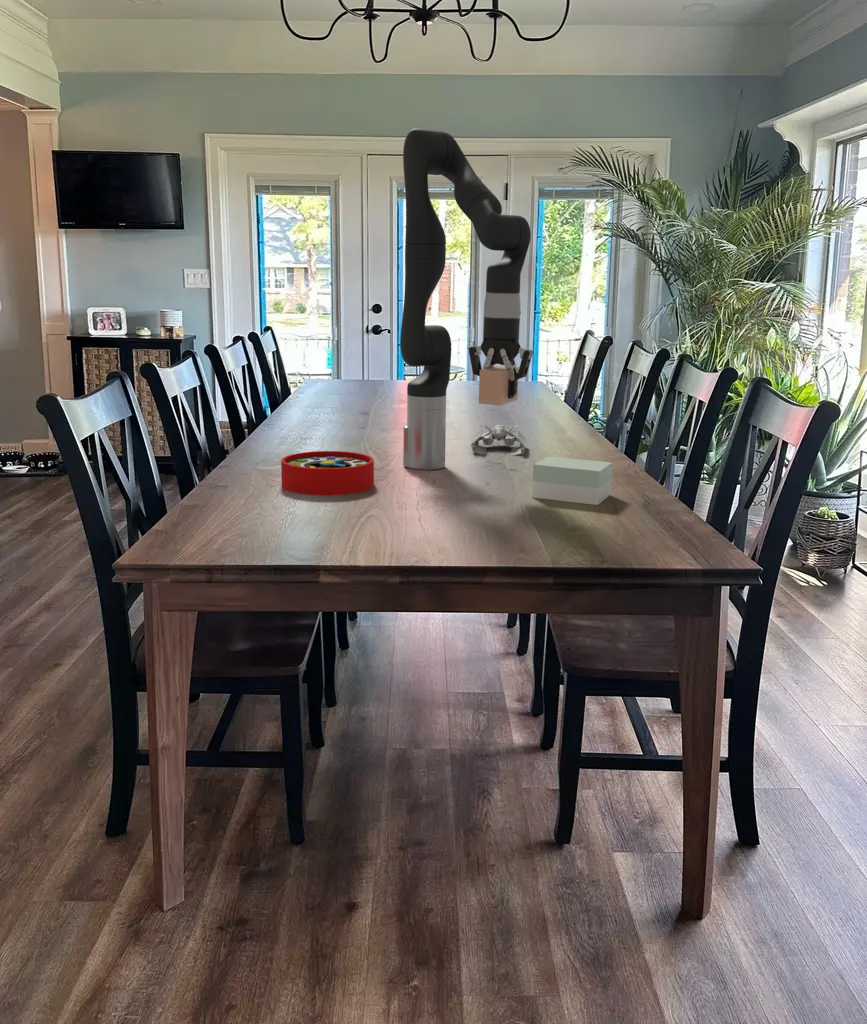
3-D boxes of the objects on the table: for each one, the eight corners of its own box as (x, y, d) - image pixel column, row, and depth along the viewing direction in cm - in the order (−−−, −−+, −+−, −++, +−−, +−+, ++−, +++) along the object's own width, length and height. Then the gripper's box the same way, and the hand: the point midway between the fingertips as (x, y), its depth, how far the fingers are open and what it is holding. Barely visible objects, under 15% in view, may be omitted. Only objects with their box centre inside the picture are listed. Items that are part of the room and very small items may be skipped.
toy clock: (261, 461, 198) (318, 447, 215) (262, 488, 199) (318, 472, 216) (338, 472, 188) (391, 457, 205) (338, 501, 190) (391, 483, 206)
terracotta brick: (478, 403, 194) (479, 369, 193) (495, 397, 203) (497, 365, 201) (500, 405, 192) (502, 371, 191) (517, 399, 201) (518, 367, 199)
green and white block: (531, 497, 194) (533, 464, 192) (546, 487, 203) (548, 456, 201) (597, 505, 188) (599, 471, 187) (610, 495, 197) (612, 462, 195)
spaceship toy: (470, 457, 237) (470, 432, 236) (474, 443, 257) (475, 420, 255) (524, 459, 236) (525, 434, 234) (525, 445, 255) (526, 422, 254)
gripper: (463, 314, 193) (460, 396, 197) (528, 317, 187) (524, 401, 191) (476, 313, 199) (474, 392, 204) (540, 316, 194) (536, 397, 198)
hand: (498, 396), depth 198 cm, fingers closed on terracotta brick, 5 cm apart
